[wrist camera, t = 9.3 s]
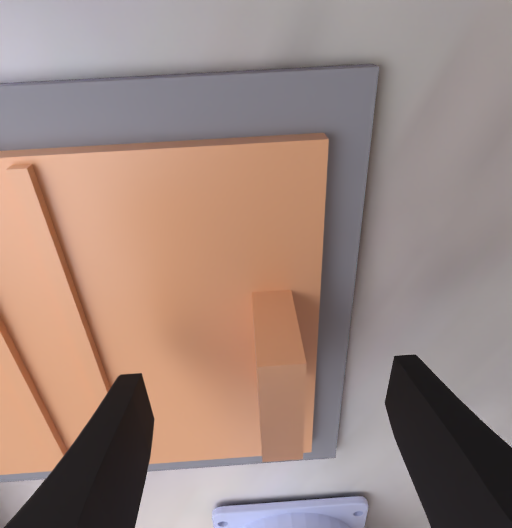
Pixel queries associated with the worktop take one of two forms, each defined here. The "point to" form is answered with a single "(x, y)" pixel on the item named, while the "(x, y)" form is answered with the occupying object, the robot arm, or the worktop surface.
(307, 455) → the mat
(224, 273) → the lid
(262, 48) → the worktop surface
